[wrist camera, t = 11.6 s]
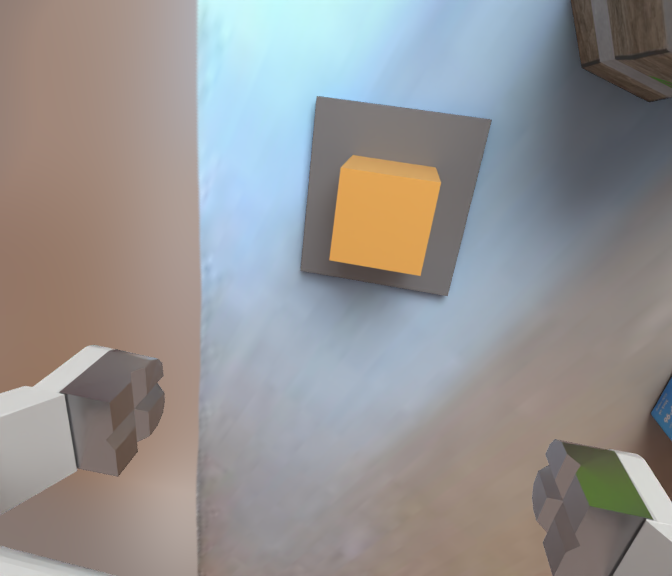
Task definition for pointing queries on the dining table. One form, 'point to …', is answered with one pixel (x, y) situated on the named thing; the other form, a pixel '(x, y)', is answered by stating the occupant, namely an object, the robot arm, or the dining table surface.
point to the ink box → (664, 410)
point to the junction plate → (401, 146)
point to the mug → (627, 44)
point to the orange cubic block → (384, 214)
